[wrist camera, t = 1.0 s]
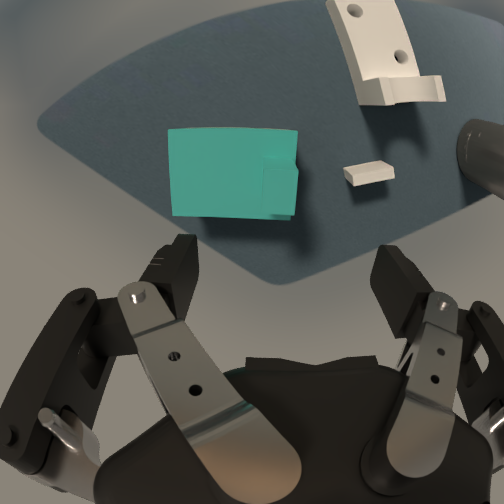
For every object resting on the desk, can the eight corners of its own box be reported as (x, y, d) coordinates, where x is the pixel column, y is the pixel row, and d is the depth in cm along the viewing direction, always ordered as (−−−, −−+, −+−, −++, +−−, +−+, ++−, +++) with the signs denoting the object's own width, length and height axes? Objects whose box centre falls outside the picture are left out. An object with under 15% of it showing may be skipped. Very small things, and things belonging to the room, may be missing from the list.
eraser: (342, 167, 29) (352, 175, 26) (380, 159, 28) (393, 167, 25) (344, 177, 29) (354, 186, 26) (381, 169, 28) (394, 178, 25)
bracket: (410, 99, 24) (446, 101, 17) (358, 105, 25) (385, 105, 19) (379, 3, 18) (407, -18, 11) (324, 4, 19) (341, -22, 13)
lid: (296, 130, 22) (306, 136, 18) (289, 218, 27) (295, 245, 22) (170, 129, 23) (146, 135, 18) (174, 213, 27) (155, 238, 22)
